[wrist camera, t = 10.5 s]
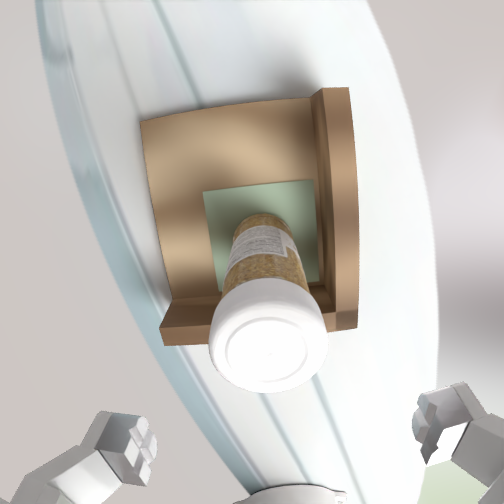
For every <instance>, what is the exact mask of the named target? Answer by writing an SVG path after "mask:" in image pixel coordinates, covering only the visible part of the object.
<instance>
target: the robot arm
mask: <svg viewBox="0 0 504 504" xmlns="http://www.w3.org/2000/svg"><path fill="white" fill-rule="evenodd" d="M417 403H418V406H419V408H418V409H417V410H416V411H415V412H414V415H413V419H412V429H413V433H414V436H415V439H416V440H417V441H419V442H420V443H422V447H421V450H420V451H421V453H422V456H423V458H424V461H425V463H426V466H429V465H432V464H436V463H439V462H442V461H445V460H448V459H451V461H452V462H454V463H455V464H457V465H458V466H459V467H461V468H462V469H463V470H465V471H466V472H468V473H469V474H470V475H472V476H473V477H474V478H476V479H477V480H479V481H480V482H481V483H483V484H484V485H486V486H487V487H488V489H487V490H486V492H485V493H484V494H483V495H482V496H481V497H480V499H479V501H478V504H504V419H502V418H500V417H498V416H496V415H494V414H492V413H491V414H487V413H486V411H485V410H484V408H483V407H482V405H481V404H480V402H479V401H478V399H477V398H476V396H475V395H474V394H473V392H472V391H471V389H470V388H469V386H468V385H467V384H466V383H465V382H460V383H457V384H454V385H451V386H447V387H443V388H440V389H436V390H433V391H429V392H426V393H422V394H421V395H420V396H419V398H418V402H417ZM148 426H149V423H148V421H147V419H146V417H143V416H136V415H128V414H120V413H112V412H105V411H101V412H99V413H98V414H97V416H96V418H95V419H94V421H93V423H92V424H91V426H90V428H89V430H88V432H87V434H86V436H85V437H84V439H83V441H82V443H81V445H80V446H77V445H76V446H74V447H73V448H71V449H69V450H68V451H66V452H64V453H63V454H61V455H59V456H58V457H56V458H54V459H53V460H51V461H49V462H48V463H46V464H44V465H43V466H41V467H39V468H37V469H36V470H34V471H32V472H30V473H29V474H27V475H25V477H24V479H23V481H22V482H21V484H20V486H19V487H18V489H17V491H16V493H15V495H14V496H13V498H12V500H11V502H10V503H9V502H7V501H5V500H3V499H1V498H0V504H101V503H102V502H103V501H104V500H106V499H107V498H108V497H109V496H110V495H111V494H112V493H113V492H115V491H116V490H117V489H118V488H119V487H120V486H121V485H122V483H126V484H133V485H139V486H147V484H148V481H149V478H150V474H151V471H152V470H151V468H150V466H149V464H150V463H151V462H153V461H154V460H155V458H156V455H157V440H156V437H155V435H154V433H153V432H151V431H150V430H149V429H148ZM346 499H347V493H344V492H334V491H331V490H329V489H327V488H324V487H320V486H313V485H291V486H281V487H275V488H270V489H266V490H263V491H260V492H257V493H255V494H253V495H251V496H250V497H249V498H247V499H245V500H242V501H238V502H235V503H233V504H343V503H344V502H345V500H346Z"/></svg>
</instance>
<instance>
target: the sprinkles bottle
mask: <svg viewBox="0 0 504 504" xmlns="http://www.w3.org/2000/svg"><path fill="white" fill-rule="evenodd" d="M208 342H209V354H210V357H211V360H212V362H213V364H214V366H215V368H216V369H217V371H218V372H219V373H220V374H221V375H222V376H223V377H224V378H225V379H226V380H228V381H229V382H231V383H232V384H234V385H236V386H238V387H240V388H243V389H246V390H249V391H254V392H262V393H272V392H279V391H284V390H288V389H291V388H294V387H296V386H298V385H300V384H302V383H304V382H305V381H306V380H308V379H309V378H310V377H312V376H313V375H314V374H315V373H316V371H317V370H318V369H319V368H320V366H321V365H322V363H323V361H324V359H325V356H326V353H327V348H328V335H327V330H326V327H325V323H324V320H323V317H322V314H321V311H320V309H319V306H318V304H317V303H316V301H315V300H314V298H313V297H312V296H311V295H310V292H309V288H308V285H307V281H306V277H305V273H304V270H303V267H302V263H301V260H300V257H299V254H298V251H297V248H296V246H295V243H294V240H293V236H292V233H291V230H290V228H289V227H288V225H287V224H286V223H285V222H284V221H283V220H281V219H279V218H278V217H276V216H273V215H270V214H266V213H264V214H256V215H252V216H250V217H248V218H246V219H245V220H243V221H242V222H241V223H240V224H239V226H238V227H237V229H236V231H235V233H234V236H233V246H232V249H231V252H230V256H229V260H228V265H227V269H226V273H225V278H224V282H223V288H222V298H221V301H220V302H219V304H218V306H217V308H216V310H215V312H214V315H213V319H212V323H211V328H210V334H209V341H208Z"/></svg>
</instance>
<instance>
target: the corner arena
mask: <svg viewBox="0 0 504 504" xmlns="http://www.w3.org/2000/svg"><path fill="white" fill-rule="evenodd" d="M140 128H141V136H142V143H143V150H144V157H145V163H146V170H147V176H148V182H149V188H150V193H151V199H152V205H153V210H154V215H155V221H156V226H157V231H158V236H159V240H160V245H161V250H162V255H163V259H164V264H165V268H166V273H167V277H168V281H169V285H170V290H171V294H172V298H173V300H172V302H171V304H170V306H169V308H168V310H167V312H166V314H165V316H164V319H163V321H162V323H161V325H160V327H159V330H160V333H161V336H162V339H163V343H164V346H176V345H198V344H209V342H208V341H209V334H210V328H211V323H212V319H213V315H214V312H215V310H216V308H217V306H218V304H219V302H220V301H221V298H222V288H223V282H224V278H225V273H226V269H227V265H228V260H229V256H230V252H231V249H232V246H233V236H234V233H235V231H236V229H237V227H238V226H239V224H240V223H241V222H242V221H243V220H245V219H246V218H248V217H250V216H252V215H256V214H264V213H266V214H270V215H273V216H276V217H278V218H279V219H281V220H283V221H284V222H285V223H286V224H287V225H288V227H289V228H290V230H291V233H292V236H293V240H294V243H295V246H296V248H297V251H298V254H299V257H300V260H301V263H302V267H303V270H304V273H305V277H306V281H307V285H308V288H309V292H310V295H311V296H312V297H313V298H314V300H315V301H316V303H317V304H318V306H319V309H320V311H321V314H322V317H323V320H324V323H325V327H326V330H327V332H334V331H341V330H348V329H355V328H357V323H358V301H359V206H358V184H357V167H356V153H355V141H354V130H353V120H352V111H351V103H350V95H349V87H340V88H321V89H320V90H319V91H318V92H316V93H315V94H314V95H312V96H311V97H310V98H293V99H280V100H269V101H259V102H250V103H241V104H233V105H226V106H219V107H212V108H206V109H200V110H194V111H189V112H183V113H178V114H173V115H168V116H163V117H158V118H154V119H149V120H145V121H140Z"/></svg>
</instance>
